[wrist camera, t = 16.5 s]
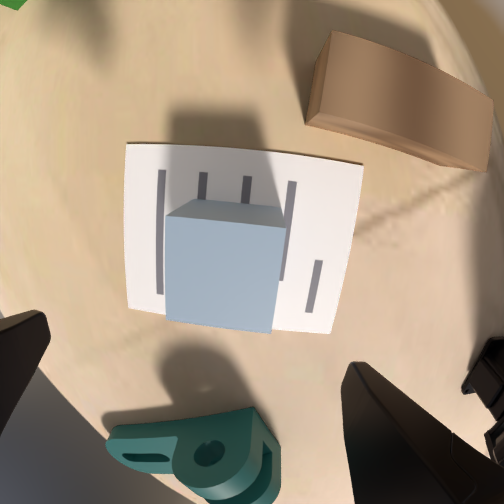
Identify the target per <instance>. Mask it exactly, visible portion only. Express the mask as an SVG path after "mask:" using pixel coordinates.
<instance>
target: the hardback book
mask: <svg viewBox="0 0 504 504" xmlns="http://www.w3.org/2000/svg"><path fill="white" fill-rule="evenodd" d="M26 1H27V0H0V4H1V5H4V6H6V7H9V8H12V9H14V10H17V11H18V10H19V8H20V7H21V6H22V5H23V4H24V3H25V2H26Z"/></svg>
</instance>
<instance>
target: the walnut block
mask: <svg viewBox="0 0 504 504" xmlns="http://www.w3.org/2000/svg"><path fill="white" fill-rule="evenodd" d="M493 107H494V101H493V100H492V99H491V98H489V97H487V96H486V95H484V94H483V93H481V92H479V91H478V90H476V89H474V88H473V87H471V86H469V85H468V84H466V83H464V82H462V81H461V80H459V79H457V78H455V77H453V76H451V75H449V74H447V73H445V72H444V71H442V70H440V69H438V68H435V67H433V66H431V65H429V64H427V63H425V62H423V61H420V60H418V59H416V58H414V57H411V56H409V55H406V54H404V53H402V52H399V51H397V50H394V49H391V48H389V47H386V46H383V45H380V44H378V43H375V42H372V41H369V40H366V39H363V38H359V37H356V36H353V35H349V34H346V33H342V32H339V31H335V30H332V31H331V33H330V35H329V37H328V39H327V41H326V43H325V45H324V47H323V49H322V51H321V53H320V55H319V57H318V58H317V60H316V63H315V69H314V75H313V81H312V87H311V93H310V99H309V105H308V110H307V116H306V122H305V125H308V126H312V127H317V128H321V129H325V130H329V131H333V132H337V133H341V134H345V135H349V136H352V137H356V138H359V139H363V140H366V141H370V142H373V143H376V144H380V145H383V146H386V147H389V148H392V149H395V150H398V151H401V152H404V153H407V154H410V155H413V156H415V157H418V158H421V159H424V160H426V161H429V162H432V163H434V164H437V165H439V166H446V167H454V168H461V169H468V170H474V171H480V172H486V171H487V165H488V159H489V151H490V143H491V134H492V123H493Z"/></svg>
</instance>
